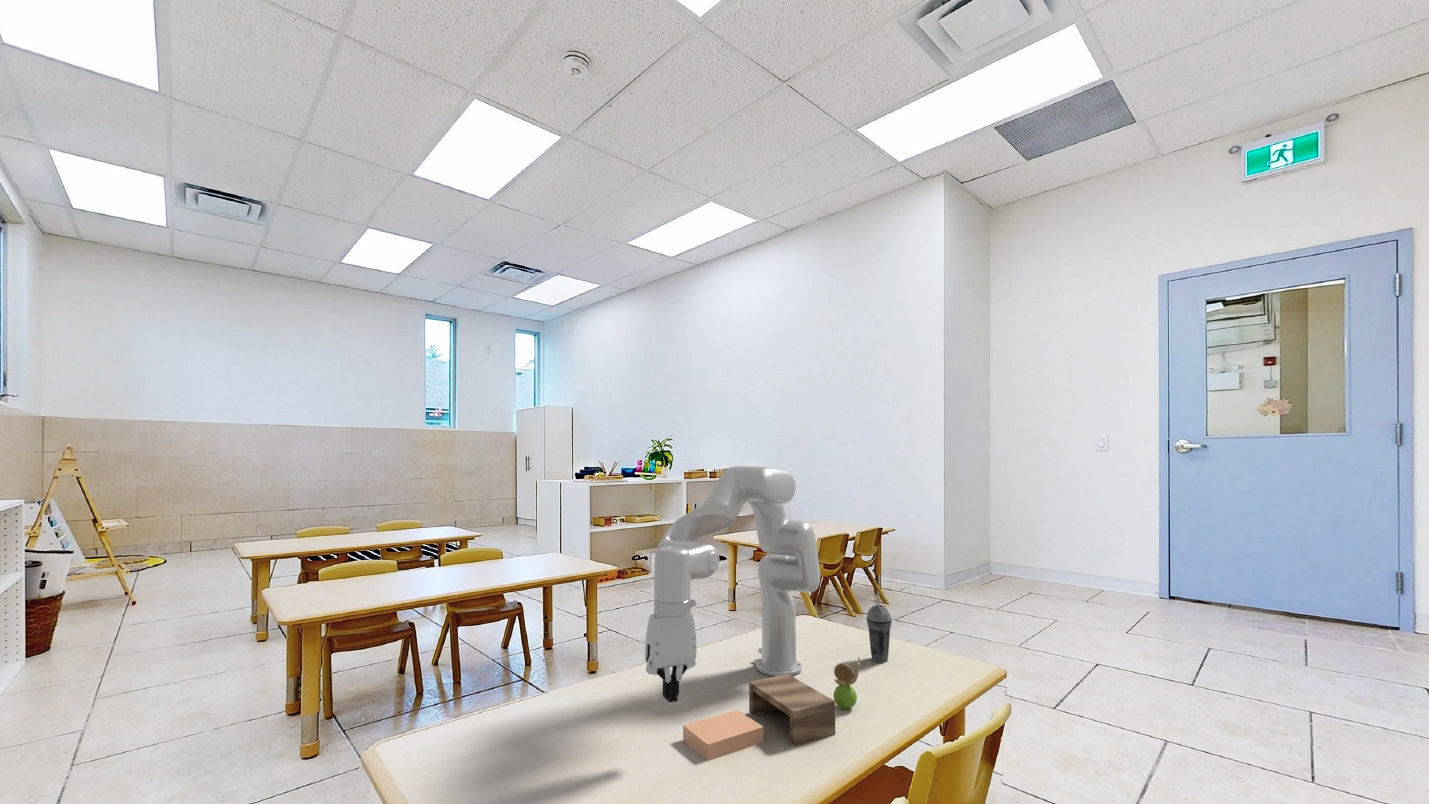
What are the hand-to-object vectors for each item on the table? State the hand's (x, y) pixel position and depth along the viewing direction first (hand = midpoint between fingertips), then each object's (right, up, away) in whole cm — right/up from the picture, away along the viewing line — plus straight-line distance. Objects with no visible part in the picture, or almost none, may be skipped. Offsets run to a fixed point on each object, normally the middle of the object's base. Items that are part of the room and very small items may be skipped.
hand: (670, 699), depth 125 cm
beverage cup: (+57, -15, +54) cm, 80 cm away
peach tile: (+11, -12, +5) cm, 17 cm away
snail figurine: (+41, -13, +21) cm, 48 cm away
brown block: (+26, -12, +13) cm, 31 cm away
